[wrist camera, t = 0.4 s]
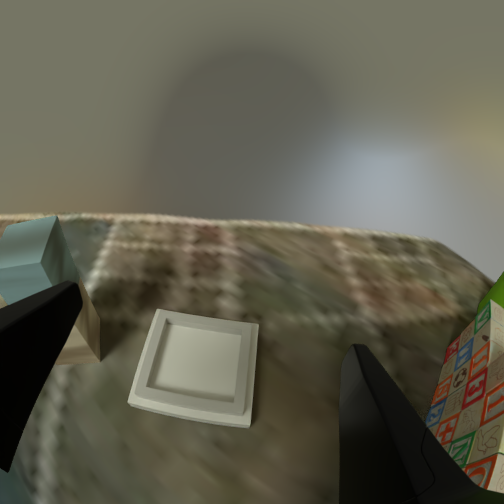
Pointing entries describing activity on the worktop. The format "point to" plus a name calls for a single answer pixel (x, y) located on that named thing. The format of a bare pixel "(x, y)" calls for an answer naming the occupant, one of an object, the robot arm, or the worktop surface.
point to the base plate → (197, 369)
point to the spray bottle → (494, 294)
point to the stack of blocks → (474, 400)
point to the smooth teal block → (47, 280)
